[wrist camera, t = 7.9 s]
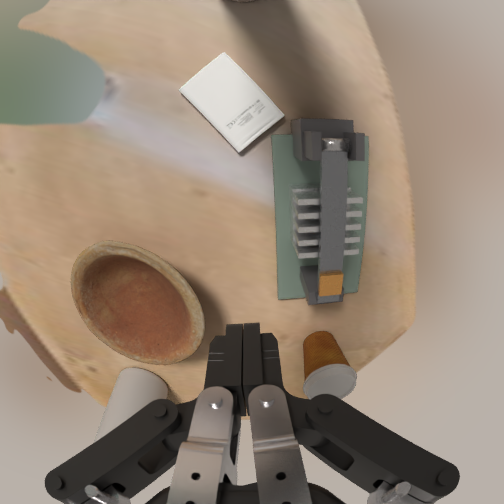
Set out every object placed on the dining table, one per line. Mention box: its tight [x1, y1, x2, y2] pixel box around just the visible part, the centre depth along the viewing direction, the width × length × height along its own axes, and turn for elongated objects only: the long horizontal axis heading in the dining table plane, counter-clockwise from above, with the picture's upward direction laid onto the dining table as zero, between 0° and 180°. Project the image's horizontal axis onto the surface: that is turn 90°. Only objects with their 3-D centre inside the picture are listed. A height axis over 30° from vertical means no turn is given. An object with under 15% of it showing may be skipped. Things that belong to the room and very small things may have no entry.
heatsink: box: [289, 183, 363, 259], centre depth 36 cm, size 8×8×8 cm
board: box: [271, 134, 369, 300], centre depth 40 cm, size 26×14×1 cm, turn 4°
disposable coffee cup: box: [303, 331, 357, 400], centre depth 46 cm, size 10×10×12 cm
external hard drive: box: [179, 52, 285, 153], centre depth 33 cm, size 2×8×12 cm
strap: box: [316, 138, 351, 303], centre depth 31 cm, size 21×4×2 cm, turn 4°
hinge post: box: [291, 119, 365, 161], centre depth 30 cm, size 5×6×11 cm
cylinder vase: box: [94, 368, 168, 443], centre depth 46 cm, size 12×12×25 cm
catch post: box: [300, 265, 344, 305], centre depth 40 cm, size 2×5×8 cm, turn 94°
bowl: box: [71, 241, 205, 365], centre depth 42 cm, size 24×24×8 cm
